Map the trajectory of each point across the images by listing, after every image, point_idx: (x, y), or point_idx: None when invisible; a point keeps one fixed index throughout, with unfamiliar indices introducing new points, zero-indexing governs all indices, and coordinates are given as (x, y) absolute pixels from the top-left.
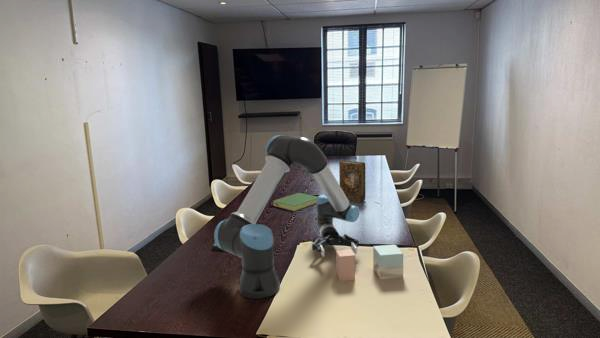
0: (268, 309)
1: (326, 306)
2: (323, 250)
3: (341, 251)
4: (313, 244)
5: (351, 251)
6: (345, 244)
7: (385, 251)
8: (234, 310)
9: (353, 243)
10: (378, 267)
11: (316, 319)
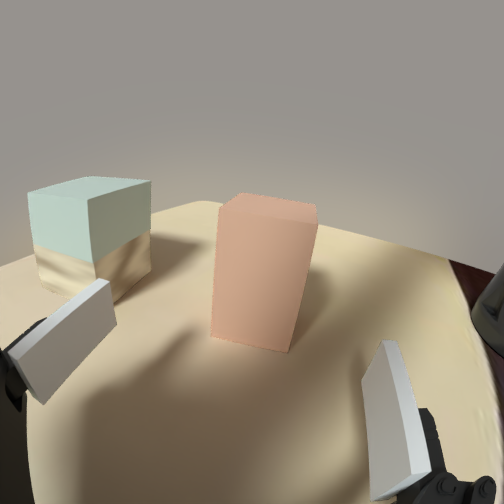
0: (457, 282)
1: (353, 258)
2: (389, 344)
3: (288, 212)
4: (487, 480)
5: (235, 201)
6: (25, 472)
7: (108, 183)
8: None
9: (33, 331)
10: (137, 246)
11: (372, 247)
